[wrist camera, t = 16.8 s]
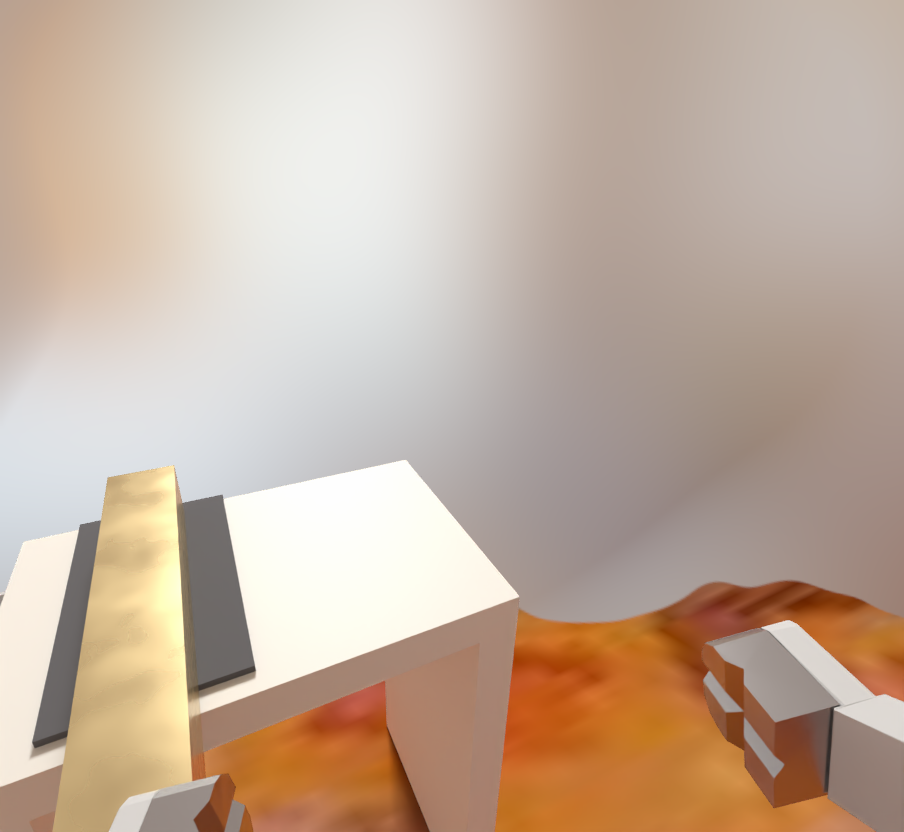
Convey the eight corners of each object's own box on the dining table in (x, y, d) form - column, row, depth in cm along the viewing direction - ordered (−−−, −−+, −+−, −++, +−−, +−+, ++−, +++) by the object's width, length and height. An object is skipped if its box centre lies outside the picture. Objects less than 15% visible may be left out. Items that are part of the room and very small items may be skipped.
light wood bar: (184, 512, 29) (174, 465, 28) (227, 1054, 11) (204, 992, 10) (121, 526, 28) (107, 477, 27) (59, 1160, 10) (9, 1104, 9)
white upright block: (408, 716, 47) (405, 455, 36) (487, 893, 35) (520, 591, 24) (136, 834, 38) (21, 537, 27) (126, 1119, 26) (-79, 808, 16)
